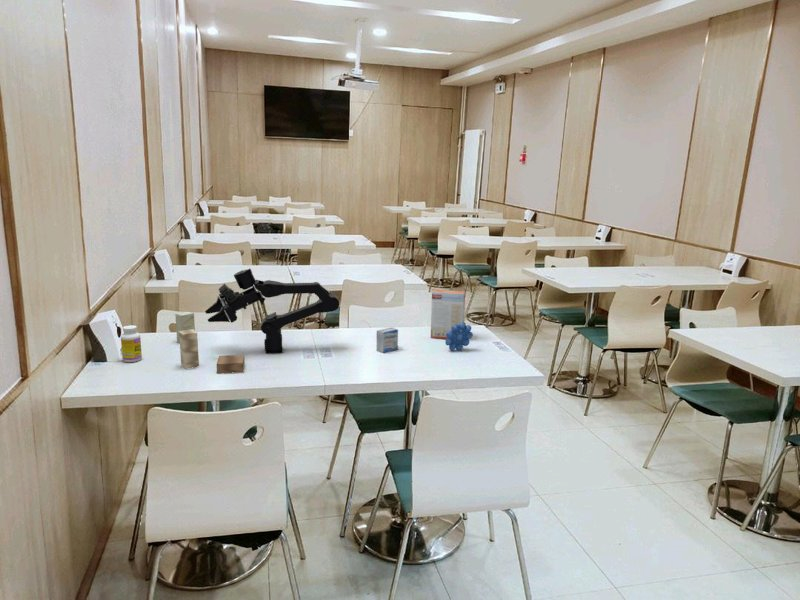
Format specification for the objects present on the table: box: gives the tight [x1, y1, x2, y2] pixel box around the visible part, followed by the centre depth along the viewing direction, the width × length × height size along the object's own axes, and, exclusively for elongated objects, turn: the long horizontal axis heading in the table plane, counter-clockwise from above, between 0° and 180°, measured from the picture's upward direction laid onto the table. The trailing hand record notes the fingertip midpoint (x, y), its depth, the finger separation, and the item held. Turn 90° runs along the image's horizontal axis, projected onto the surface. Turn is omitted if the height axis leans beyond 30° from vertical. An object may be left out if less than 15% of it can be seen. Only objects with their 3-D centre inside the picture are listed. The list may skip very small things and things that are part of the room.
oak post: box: [179, 329, 200, 370], centre depth 214 cm, size 5×5×13 cm
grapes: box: [444, 321, 474, 351], centre depth 240 cm, size 12×7×12 cm, turn 103°
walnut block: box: [216, 354, 246, 374], centre depth 213 cm, size 9×9×4 cm
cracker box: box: [430, 289, 466, 340], centre depth 255 cm, size 14×6×21 cm, turn 77°
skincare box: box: [174, 311, 196, 344], centre depth 242 cm, size 6×4×12 cm
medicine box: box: [375, 327, 399, 354], centre depth 238 cm, size 8×4×9 cm, turn 131°
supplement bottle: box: [120, 324, 143, 363], centre depth 219 cm, size 7×7×13 cm
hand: (206, 316), depth 224 cm, fingers open, 9 cm apart
